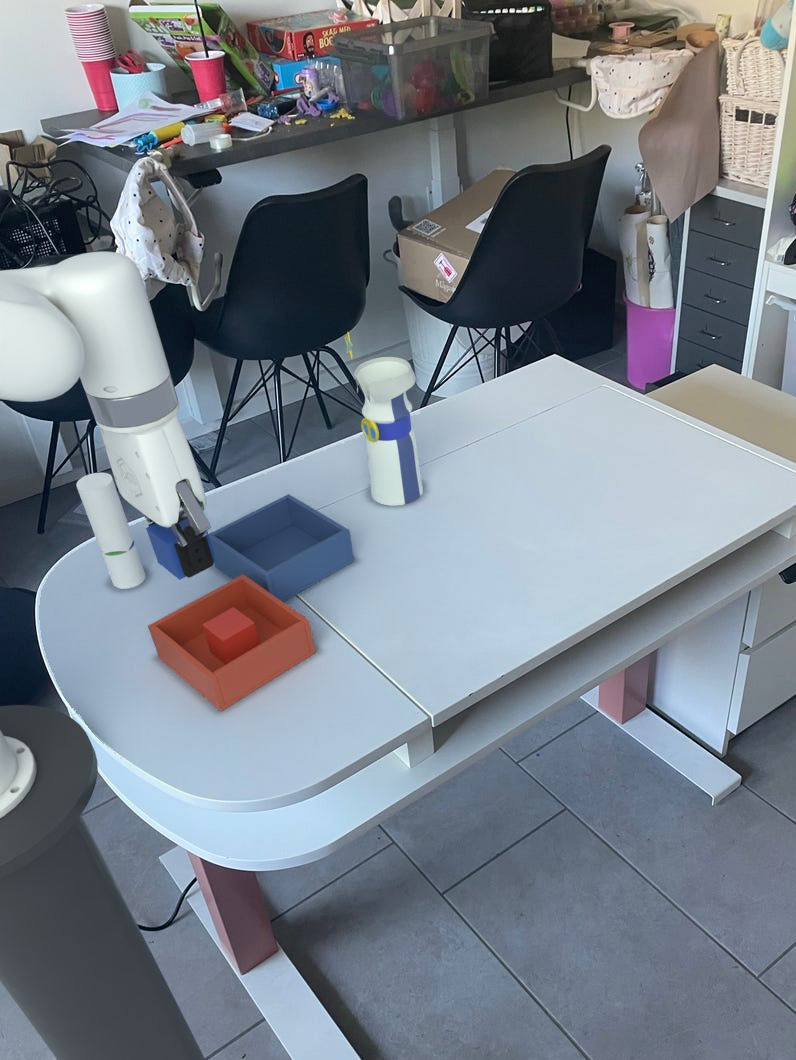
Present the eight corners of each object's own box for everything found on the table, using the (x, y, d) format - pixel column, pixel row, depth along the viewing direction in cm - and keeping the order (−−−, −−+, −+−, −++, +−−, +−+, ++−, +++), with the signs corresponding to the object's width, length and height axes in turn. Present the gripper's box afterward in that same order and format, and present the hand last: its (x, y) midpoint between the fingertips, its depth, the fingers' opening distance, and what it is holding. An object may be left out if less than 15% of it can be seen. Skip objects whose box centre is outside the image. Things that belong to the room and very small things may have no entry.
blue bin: (273, 608, 119) (265, 575, 116) (214, 566, 126) (205, 535, 123) (354, 561, 126) (349, 529, 123) (294, 524, 133) (288, 493, 130)
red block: (231, 669, 110) (222, 640, 107) (210, 652, 112) (201, 624, 109) (262, 650, 112) (254, 622, 109) (241, 634, 114) (233, 606, 111)
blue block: (179, 580, 95) (167, 544, 92) (157, 562, 98) (145, 527, 95) (216, 560, 97) (206, 525, 94) (194, 544, 100) (183, 509, 97)
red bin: (221, 711, 105) (210, 678, 102) (159, 658, 113) (147, 625, 109) (316, 652, 112) (309, 619, 109) (251, 606, 119) (243, 573, 116)
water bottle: (394, 514, 134) (373, 346, 118) (357, 493, 139) (332, 329, 123) (437, 491, 138) (422, 326, 122) (400, 471, 143) (381, 310, 127)
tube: (106, 581, 125) (69, 484, 115) (132, 565, 127) (98, 469, 118) (126, 592, 123) (90, 494, 113) (152, 576, 125) (119, 478, 116)
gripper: (54, 386, 88) (115, 545, 100) (142, 445, 79) (197, 612, 91) (126, 359, 92) (177, 515, 104) (218, 412, 82) (262, 577, 94)
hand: (186, 559), depth 97 cm, fingers closed on blue block, 4 cm apart
